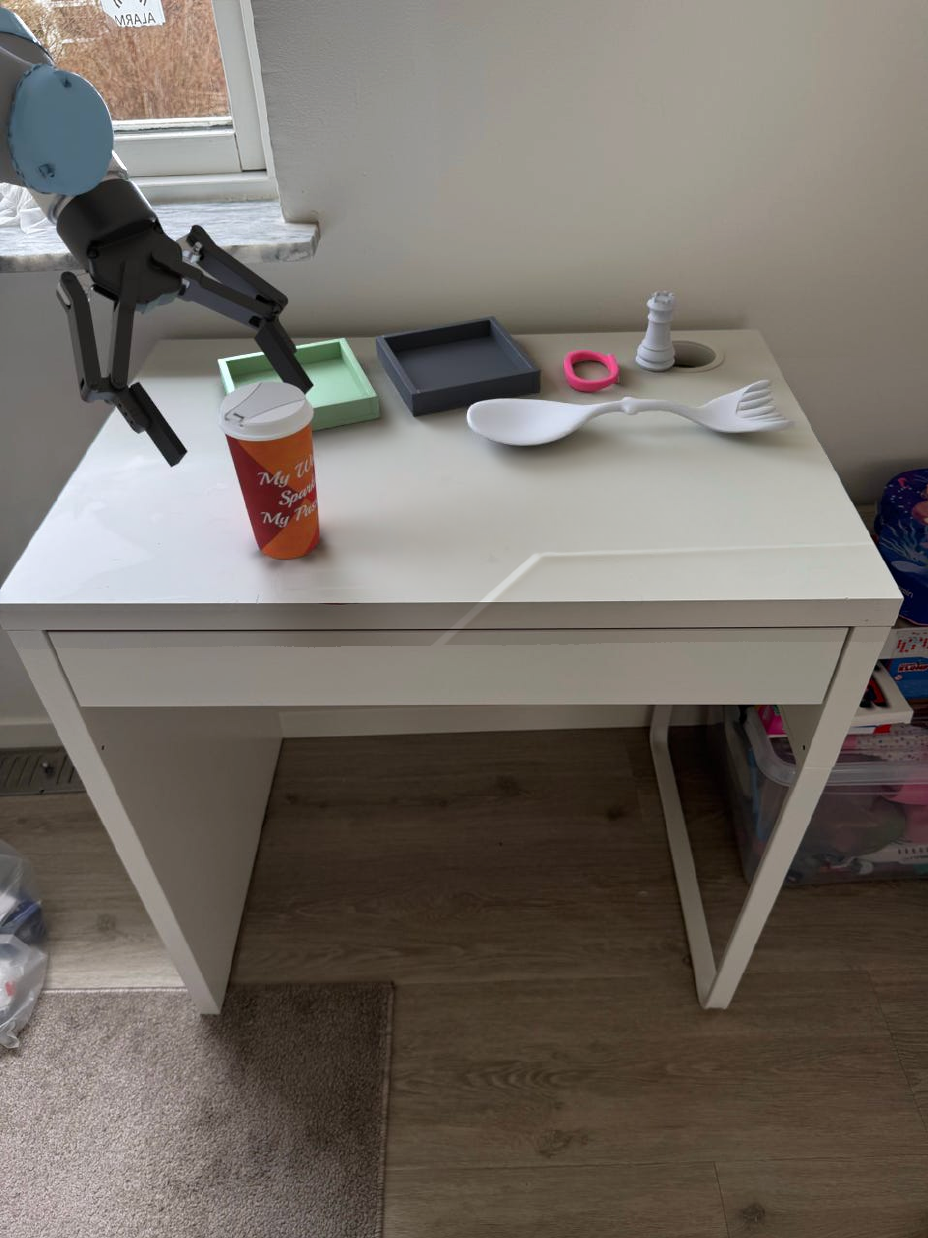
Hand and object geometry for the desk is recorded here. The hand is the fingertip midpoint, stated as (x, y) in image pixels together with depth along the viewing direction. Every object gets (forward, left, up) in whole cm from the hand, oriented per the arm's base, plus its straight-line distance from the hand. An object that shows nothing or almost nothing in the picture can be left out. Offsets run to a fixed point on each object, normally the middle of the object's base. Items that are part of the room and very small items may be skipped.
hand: (245, 425), depth 80 cm
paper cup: (+2, -3, -11) cm, 11 cm away
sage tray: (+8, +22, -10) cm, 25 cm away
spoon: (+38, +3, -11) cm, 39 cm away
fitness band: (+40, +15, -11) cm, 44 cm away
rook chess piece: (+48, +15, -11) cm, 51 cm away
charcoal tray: (+26, +21, -10) cm, 35 cm away
